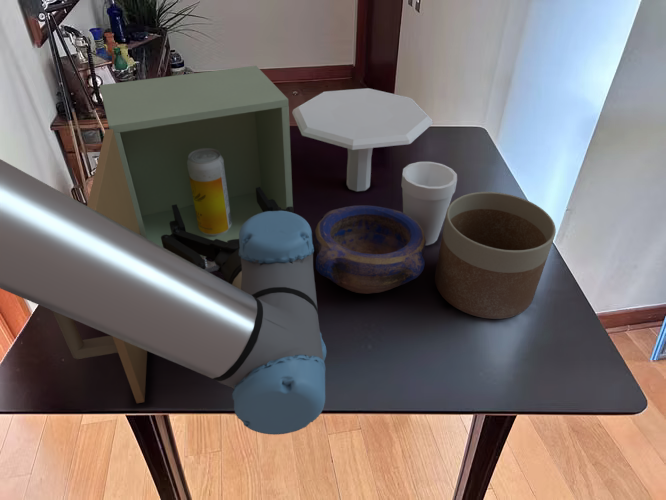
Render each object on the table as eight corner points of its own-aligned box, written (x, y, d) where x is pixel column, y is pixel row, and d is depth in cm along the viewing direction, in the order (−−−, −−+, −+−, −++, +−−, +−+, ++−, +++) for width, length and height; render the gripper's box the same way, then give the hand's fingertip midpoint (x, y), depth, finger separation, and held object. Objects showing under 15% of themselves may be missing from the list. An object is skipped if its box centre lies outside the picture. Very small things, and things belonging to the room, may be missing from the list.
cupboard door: (88, 412, 65) (13, 249, 49) (108, 279, 85) (59, 133, 70) (144, 402, 67) (88, 240, 51) (151, 273, 87) (113, 128, 71)
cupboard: (294, 236, 96) (288, 99, 80) (147, 271, 87) (108, 125, 71) (266, 192, 108) (256, 65, 92) (135, 219, 100) (99, 84, 83)
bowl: (416, 245, 94) (422, 199, 88) (423, 315, 80) (432, 265, 74) (318, 240, 95) (318, 194, 89) (308, 308, 81) (307, 259, 75)
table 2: (279, 214, 102) (274, 136, 91) (307, 150, 124) (305, 81, 113) (422, 229, 98) (433, 149, 88) (424, 160, 120) (434, 90, 110)
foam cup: (399, 250, 93) (406, 188, 85) (392, 221, 100) (398, 161, 92) (451, 250, 93) (463, 188, 85) (440, 221, 101) (451, 161, 93)
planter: (532, 332, 77) (558, 261, 69) (427, 309, 81) (439, 239, 73) (532, 268, 89) (554, 200, 81) (440, 250, 93) (452, 184, 85)
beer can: (200, 219, 98) (187, 147, 88) (232, 218, 98) (223, 146, 89) (197, 238, 93) (183, 164, 84) (231, 236, 93) (221, 163, 84)
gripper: (166, 329, 66) (143, 239, 82) (342, 279, 75) (291, 206, 90) (155, 286, 62) (132, 199, 77) (343, 238, 70) (289, 167, 85)
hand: (218, 202), depth 83 cm, fingers open, 13 cm apart
